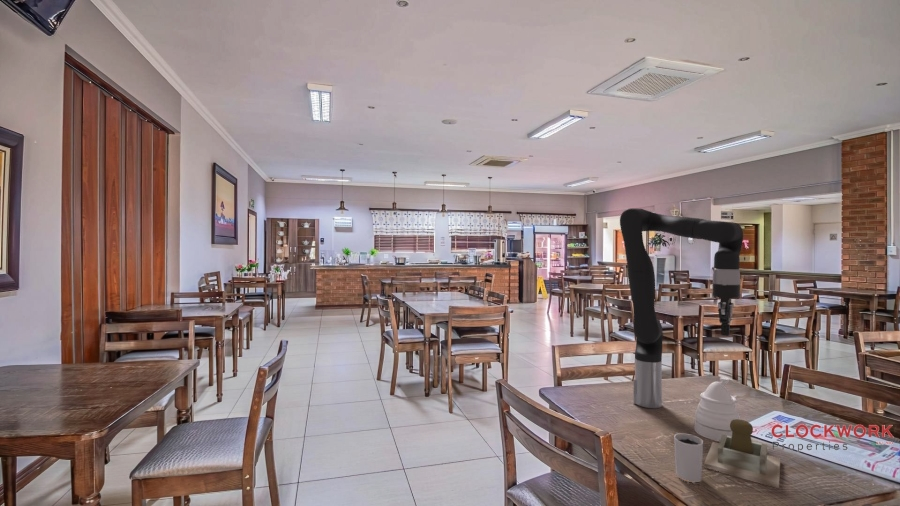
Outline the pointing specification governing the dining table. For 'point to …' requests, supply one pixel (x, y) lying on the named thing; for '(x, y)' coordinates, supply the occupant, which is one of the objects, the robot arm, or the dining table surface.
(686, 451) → the white cup
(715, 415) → the honey pot
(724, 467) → the stand
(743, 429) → the brown rounded tapered piece
